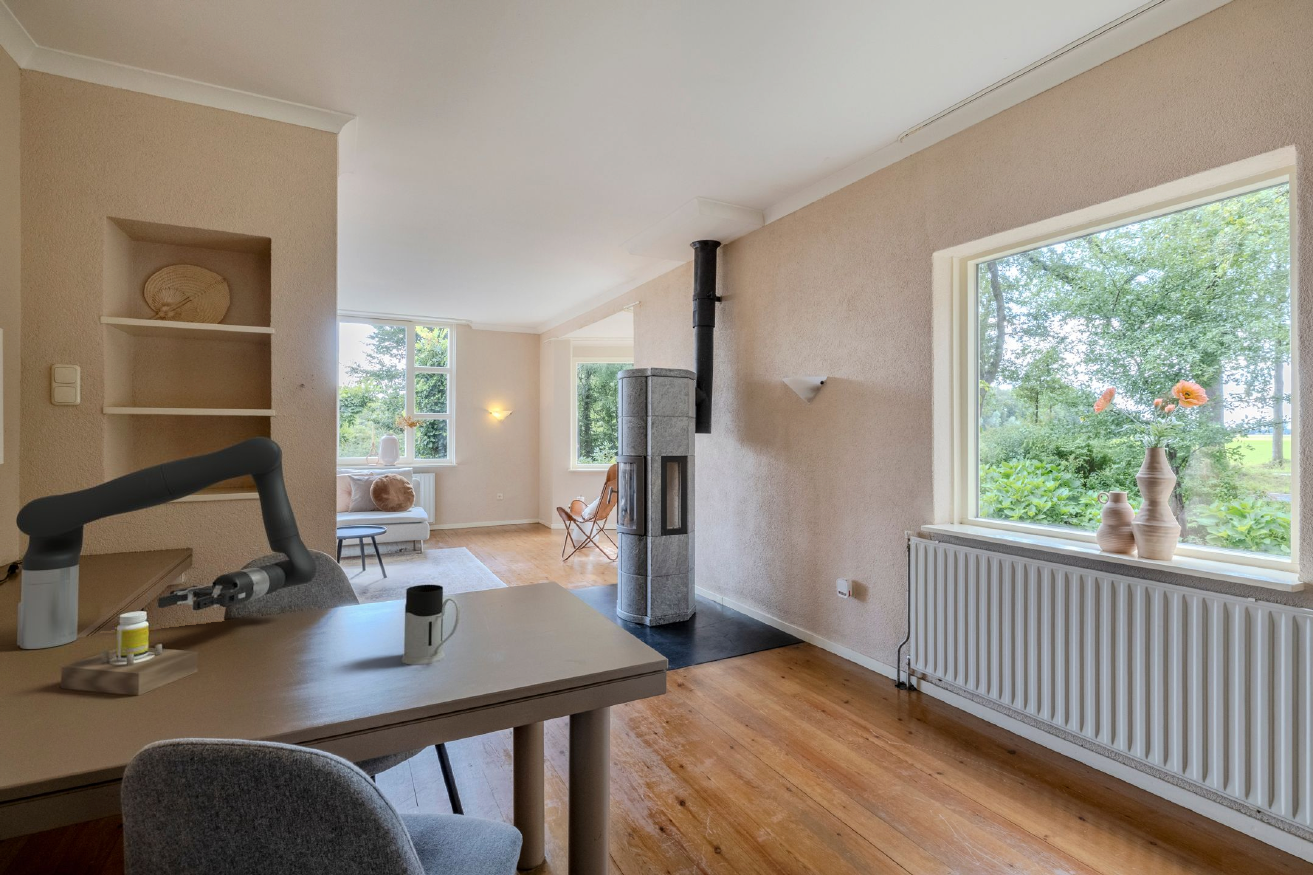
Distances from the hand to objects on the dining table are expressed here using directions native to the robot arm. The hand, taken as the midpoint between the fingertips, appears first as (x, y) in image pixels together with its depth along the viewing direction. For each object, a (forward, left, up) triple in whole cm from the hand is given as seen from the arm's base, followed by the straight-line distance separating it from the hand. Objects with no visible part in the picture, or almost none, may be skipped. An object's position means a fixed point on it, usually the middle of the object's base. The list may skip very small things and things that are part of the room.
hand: (176, 604), depth 129 cm
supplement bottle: (0, -9, -8) cm, 12 cm away
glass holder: (+51, +13, -12) cm, 54 cm away
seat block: (0, -9, -12) cm, 15 cm away
